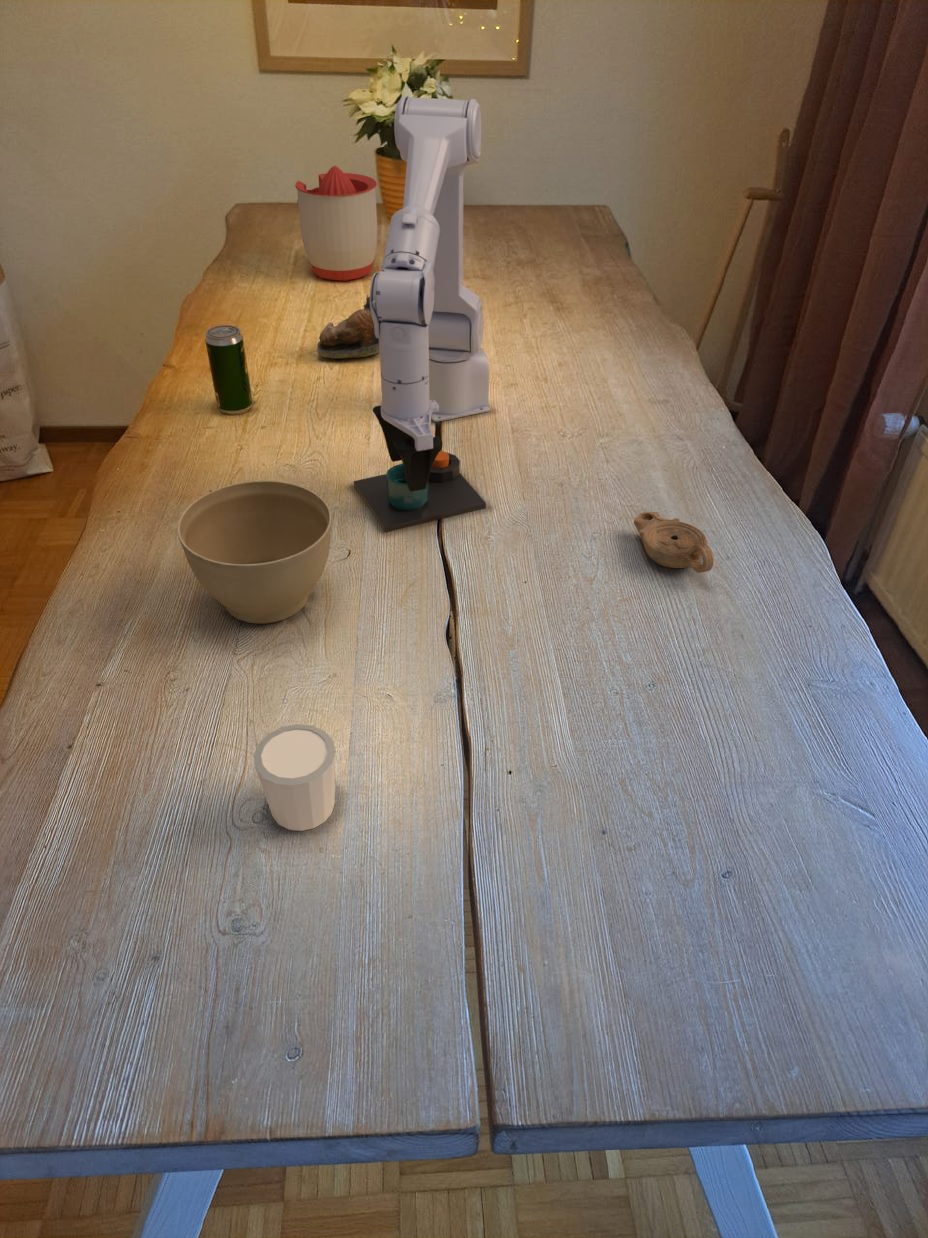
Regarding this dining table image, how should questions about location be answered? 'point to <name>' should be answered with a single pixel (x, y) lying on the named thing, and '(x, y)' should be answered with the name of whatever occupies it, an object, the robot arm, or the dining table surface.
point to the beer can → (229, 369)
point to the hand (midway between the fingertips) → (408, 473)
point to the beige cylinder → (297, 775)
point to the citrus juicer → (339, 224)
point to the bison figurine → (350, 336)
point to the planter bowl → (257, 546)
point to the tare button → (441, 460)
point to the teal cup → (403, 490)
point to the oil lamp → (673, 542)
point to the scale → (444, 500)
